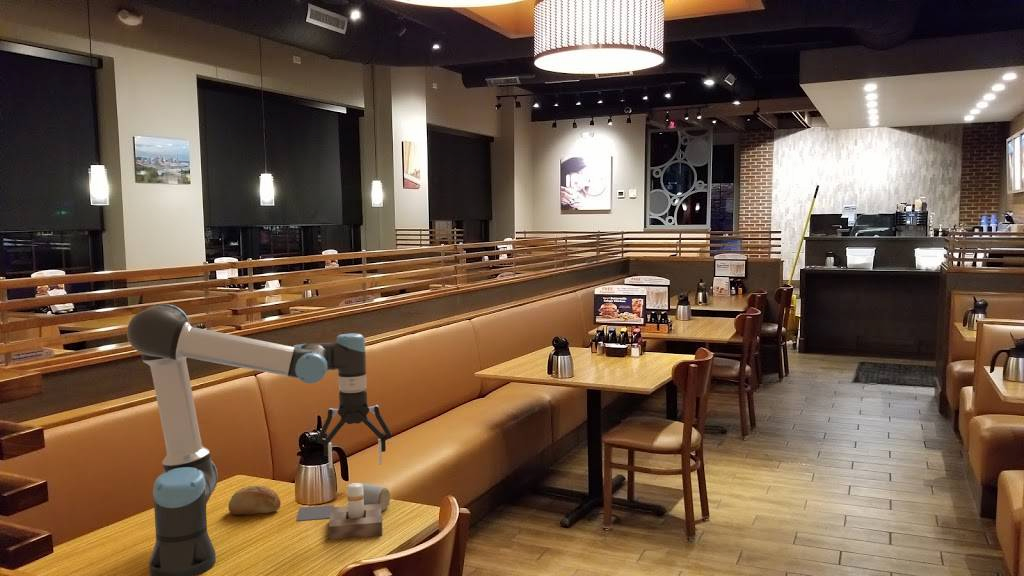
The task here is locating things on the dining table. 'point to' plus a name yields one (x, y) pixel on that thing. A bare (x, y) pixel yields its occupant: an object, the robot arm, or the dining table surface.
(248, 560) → the dining table surface
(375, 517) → the block
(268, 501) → the bread roll
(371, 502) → the ceramic mug
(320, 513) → the mat
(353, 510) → the white banded cylinder
